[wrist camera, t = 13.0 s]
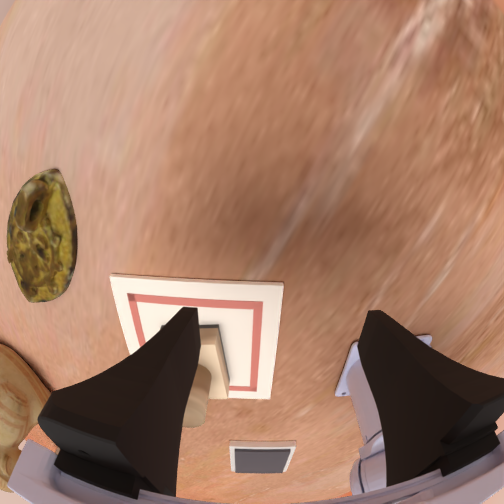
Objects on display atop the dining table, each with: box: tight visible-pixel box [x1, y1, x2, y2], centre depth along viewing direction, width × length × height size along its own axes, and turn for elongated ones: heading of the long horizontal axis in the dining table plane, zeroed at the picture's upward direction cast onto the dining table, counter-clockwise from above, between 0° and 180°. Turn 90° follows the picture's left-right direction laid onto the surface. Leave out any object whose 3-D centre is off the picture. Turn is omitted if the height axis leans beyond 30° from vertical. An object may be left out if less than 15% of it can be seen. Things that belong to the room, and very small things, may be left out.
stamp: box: [160, 324, 230, 428], centre depth 20 cm, size 5×7×7 cm
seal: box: [7, 169, 77, 303], centre depth 18 cm, size 9×5×15 cm
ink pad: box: [229, 440, 296, 473], centre depth 32 cm, size 9×11×2 cm
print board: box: [109, 274, 284, 399], centre depth 23 cm, size 14×14×1 cm
